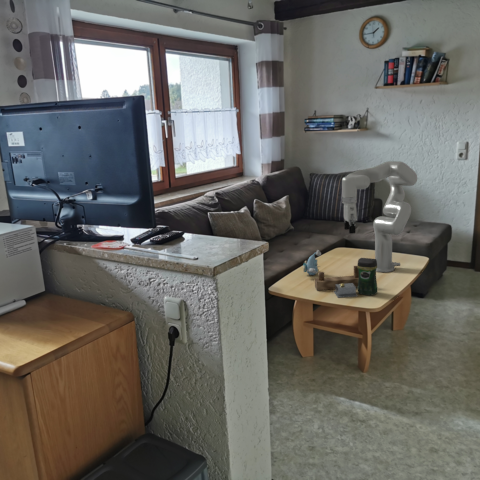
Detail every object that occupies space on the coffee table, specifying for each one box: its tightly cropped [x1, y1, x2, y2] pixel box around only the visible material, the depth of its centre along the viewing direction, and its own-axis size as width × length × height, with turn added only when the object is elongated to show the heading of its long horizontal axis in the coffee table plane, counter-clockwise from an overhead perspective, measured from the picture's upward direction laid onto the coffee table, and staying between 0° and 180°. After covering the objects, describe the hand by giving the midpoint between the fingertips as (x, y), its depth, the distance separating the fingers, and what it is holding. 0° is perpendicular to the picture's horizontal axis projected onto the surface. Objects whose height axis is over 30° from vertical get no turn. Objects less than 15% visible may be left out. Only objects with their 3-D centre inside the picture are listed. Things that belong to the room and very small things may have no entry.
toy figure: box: [302, 249, 322, 276], centre depth 284 cm, size 17×10×15 cm, turn 168°
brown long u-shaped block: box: [314, 265, 359, 292], centre depth 261 cm, size 26×6×11 cm, turn 93°
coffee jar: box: [356, 257, 379, 296], centre depth 248 cm, size 10×8×19 cm
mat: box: [333, 290, 359, 299], centre depth 251 cm, size 10×9×1 cm
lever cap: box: [334, 283, 357, 296], centre depth 251 cm, size 9×6×5 cm, turn 93°
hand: (349, 231), depth 264 cm, fingers open, 9 cm apart
